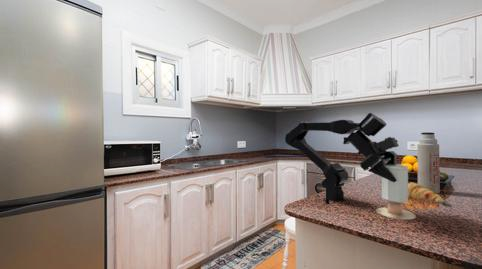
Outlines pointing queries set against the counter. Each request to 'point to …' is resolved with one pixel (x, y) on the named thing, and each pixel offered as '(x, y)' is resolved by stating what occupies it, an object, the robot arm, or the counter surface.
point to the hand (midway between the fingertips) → (399, 179)
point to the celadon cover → (396, 184)
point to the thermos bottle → (428, 162)
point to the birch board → (404, 215)
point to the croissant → (422, 193)
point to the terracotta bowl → (395, 207)
